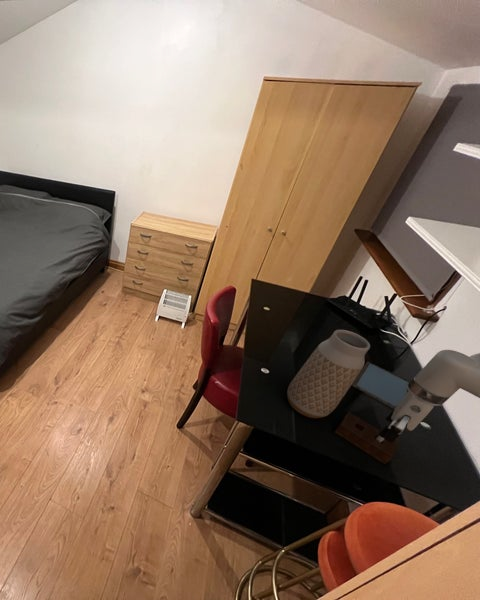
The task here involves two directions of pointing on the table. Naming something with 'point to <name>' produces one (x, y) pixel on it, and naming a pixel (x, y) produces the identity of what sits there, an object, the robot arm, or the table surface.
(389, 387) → the tablet
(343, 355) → the vase
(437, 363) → the robot arm
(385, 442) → the holder
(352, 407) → the table surface
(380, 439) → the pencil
